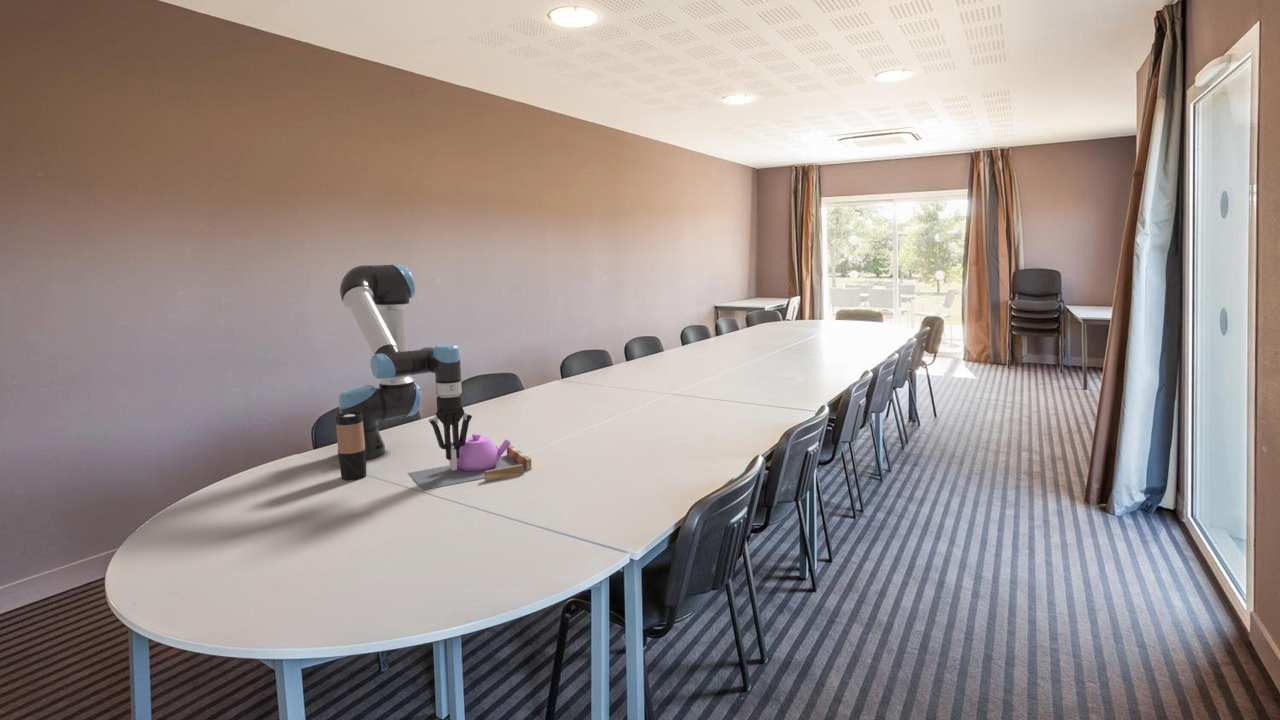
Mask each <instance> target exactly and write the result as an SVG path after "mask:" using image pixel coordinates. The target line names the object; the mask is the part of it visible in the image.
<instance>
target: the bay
mask: <svg viewBox="0 0 1280 720" xmlns="http://www.w3.org/2000/svg"><path fill="white" fill-rule="evenodd" d="M495 446H496V448H497V450H498V449H499V447H498V446H497V445H495ZM506 455H508V456H509V457H510V458H512V459H513V460H515V461H516V462H517V463H519V464H520V465H514V466H509V467H504V468H498V469H493V470H488V471H484V474H485V478H484V481H485V482H486V483H488V482H492V481H493V482H494V481H496V480H502V479H507V478H511V477H517V476H522V475H524V471H523V467H524V468H526V469H530V470H532V466H533V465H532V458H531V457H529V456H528V455H527V454H525V453H523V452H522V451H520V450H519V449H518V448H516V447H514V446H513V445H511V444H510V445H509V447H508V448H507V449H506Z"/></svg>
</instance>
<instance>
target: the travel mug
mask: <svg viewBox="0 0 1280 720" xmlns="http://www.w3.org/2000/svg"><path fill="white" fill-rule="evenodd" d="M335 428H336V429H335V430H336V441H337V455H338V454H339V458H338V461H339V469H340V476H341V480H342V481H346V482H350V481H351V482H352V481H353V482H354V481H359V480H361V479H364V478H366V477H367V459H366V453H365V440H364V429H363V419H362V413H361V412H350V413H349V414H343V413H340V412H339V413H337V414H336V415H335Z"/></svg>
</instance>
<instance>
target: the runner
mask: <svg viewBox="0 0 1280 720" xmlns="http://www.w3.org/2000/svg"><path fill="white" fill-rule="evenodd" d="M514 465H520V464H519V463H517V462H516V461H515V460H513V459H512V458H510V457H509V456H508V455H507V454H506V455H501V456H500V457H499V461H498V463H497V464H496V465H495V467H493V468H491V469H489V470H493V469H498V468H504V467H509V466H514ZM529 470H531V469H526V468H524V467H523V472H524V471H525V472H526V471H529ZM485 471H488V470H485ZM408 475H409V476H410V477H411V478H412V480H414V482H415V483H416V485H417V486H418V487H419V488H420V490H421V491H427V490H432V489H437V488H441V487H447V486H452V485H458V484H462V483H467V482H473V481H479V480H482V479H484V480H485V474H484V471H477V472H469V471H463V470H461V469H460V468H459V467H458V466H457V470H451V469H450V464H448V465H445V466H439V467H433V468H429V469H428V468H427V469H422V470H421V469H420V470H417V471H411V472H408Z"/></svg>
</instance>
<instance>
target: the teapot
mask: <svg viewBox="0 0 1280 720" xmlns="http://www.w3.org/2000/svg"><path fill="white" fill-rule="evenodd" d="M511 444H512V443H511V441H510V440H508V439H504V441H503V442H502V443H501V445H500V446H499V447H498V450H497V448H496V446H497V445H495V443H494V442H493V441H492V440H491V438H490V437H488V436H486V435H481V433H472V434H471V436H470V437H469V436H468V437H466V441H465V445H464V446H461V447H460V449H459V458H457V466H458V467H459V468H460V469H461V470H463V471H469V472H477V471H485V470H489V469H491V468H493V467H495V465H496V464H497V463H498V461H499V457H500V456H503V454H504V453H505V451H507V448H508V447H509V445H511ZM452 447H454V446H453V441H451V448H452Z"/></svg>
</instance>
